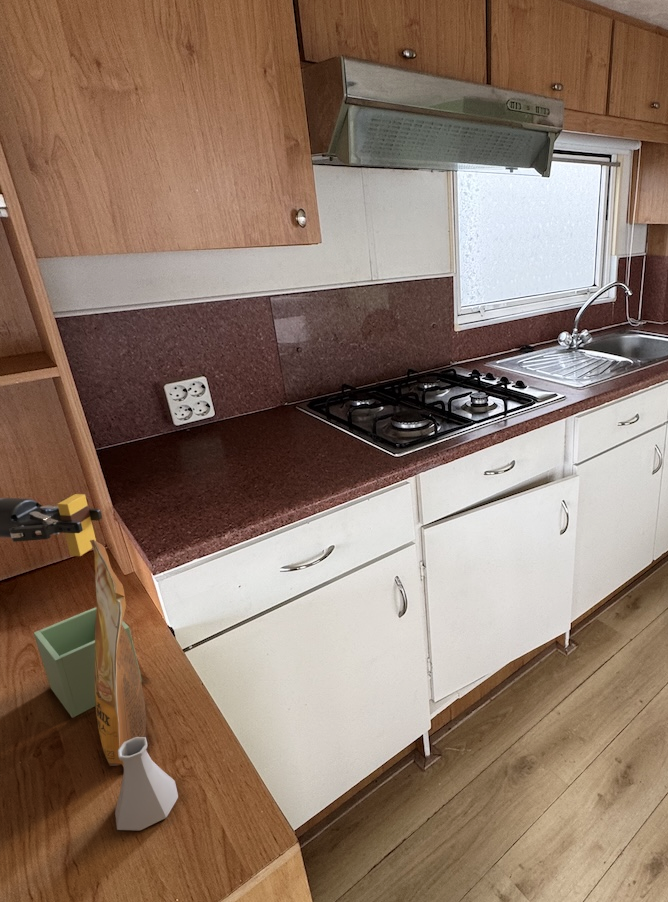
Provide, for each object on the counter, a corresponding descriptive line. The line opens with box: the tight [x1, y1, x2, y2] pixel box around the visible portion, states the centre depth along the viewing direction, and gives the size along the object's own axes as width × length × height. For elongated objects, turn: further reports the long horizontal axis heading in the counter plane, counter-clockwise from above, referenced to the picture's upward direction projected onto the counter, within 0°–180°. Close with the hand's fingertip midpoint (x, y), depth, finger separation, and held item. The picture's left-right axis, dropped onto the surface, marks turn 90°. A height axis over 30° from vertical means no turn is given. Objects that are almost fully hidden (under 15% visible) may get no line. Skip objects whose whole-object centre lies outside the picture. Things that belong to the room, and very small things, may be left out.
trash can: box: [33, 606, 143, 719], centre depth 93 cm, size 10×10×11 cm
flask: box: [114, 736, 179, 831], centre depth 73 cm, size 7×7×10 cm
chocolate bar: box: [56, 493, 97, 557], centre depth 111 cm, size 2×5×11 cm, turn 177°
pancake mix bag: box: [90, 540, 147, 769], centre depth 82 cm, size 7×19×28 cm, turn 34°
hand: (89, 521), depth 111 cm, fingers closed on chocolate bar, 4 cm apart
